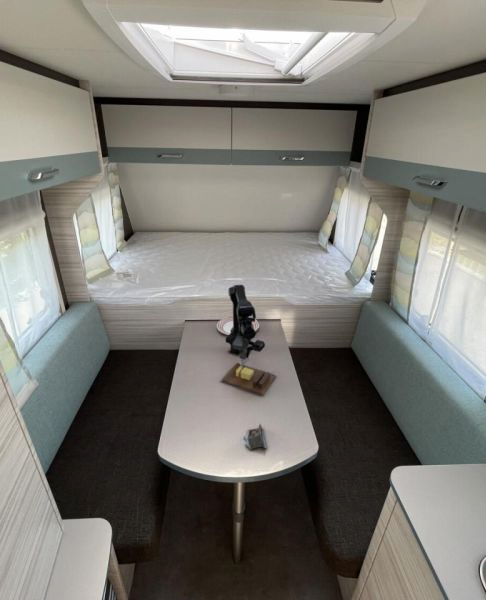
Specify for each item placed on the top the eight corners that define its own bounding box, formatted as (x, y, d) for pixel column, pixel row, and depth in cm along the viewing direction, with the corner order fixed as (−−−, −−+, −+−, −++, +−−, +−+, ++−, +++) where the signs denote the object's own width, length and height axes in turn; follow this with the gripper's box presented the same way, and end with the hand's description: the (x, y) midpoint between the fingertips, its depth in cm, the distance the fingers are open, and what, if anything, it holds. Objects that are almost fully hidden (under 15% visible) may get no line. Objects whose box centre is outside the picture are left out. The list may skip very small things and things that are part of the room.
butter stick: (240, 377, 163) (240, 372, 162) (244, 372, 167) (244, 367, 165) (249, 380, 161) (249, 375, 159) (253, 375, 164) (253, 370, 163)
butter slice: (235, 375, 164) (235, 370, 163) (240, 371, 168) (240, 365, 166) (238, 376, 163) (238, 371, 162) (242, 371, 167) (242, 366, 166)
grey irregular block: (244, 427, 135) (240, 428, 124) (260, 423, 135) (258, 423, 124) (250, 452, 131) (247, 454, 120) (267, 447, 131) (265, 449, 120)
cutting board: (221, 381, 162) (221, 375, 160) (237, 365, 175) (237, 358, 173) (262, 395, 153) (262, 388, 151) (275, 377, 166) (275, 370, 164)
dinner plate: (219, 341, 198) (218, 336, 197) (215, 320, 223) (215, 316, 221) (263, 337, 202) (263, 332, 201) (254, 318, 227) (254, 313, 225)
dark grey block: (238, 367, 159) (238, 354, 156) (245, 359, 166) (245, 346, 162) (243, 369, 158) (243, 355, 155) (250, 361, 164) (251, 347, 161)
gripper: (219, 331, 151) (220, 359, 157) (255, 341, 143) (254, 370, 149) (231, 321, 160) (231, 348, 166) (265, 330, 152) (264, 358, 158)
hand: (244, 356), depth 160 cm, fingers closed on dark grey block, 3 cm apart
